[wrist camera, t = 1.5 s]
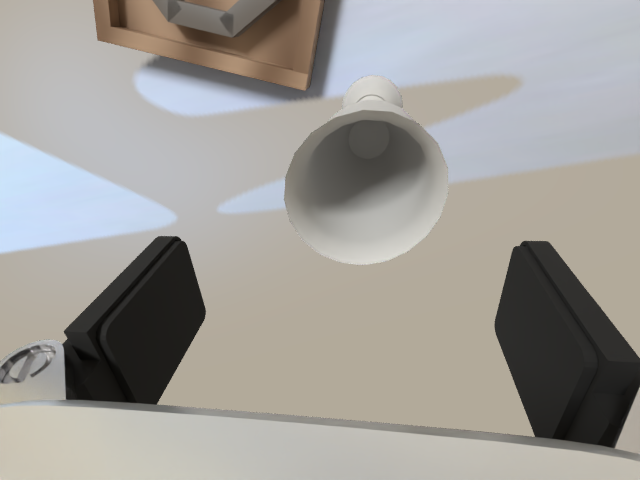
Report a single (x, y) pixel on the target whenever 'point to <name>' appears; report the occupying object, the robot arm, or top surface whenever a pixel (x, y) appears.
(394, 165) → the chalice
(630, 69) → the top surface
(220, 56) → the holder tray
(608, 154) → the top surface
